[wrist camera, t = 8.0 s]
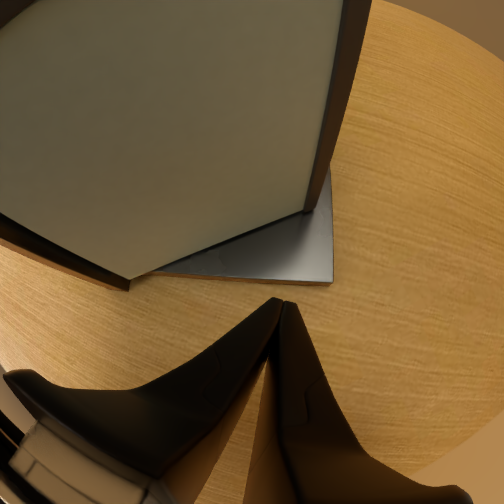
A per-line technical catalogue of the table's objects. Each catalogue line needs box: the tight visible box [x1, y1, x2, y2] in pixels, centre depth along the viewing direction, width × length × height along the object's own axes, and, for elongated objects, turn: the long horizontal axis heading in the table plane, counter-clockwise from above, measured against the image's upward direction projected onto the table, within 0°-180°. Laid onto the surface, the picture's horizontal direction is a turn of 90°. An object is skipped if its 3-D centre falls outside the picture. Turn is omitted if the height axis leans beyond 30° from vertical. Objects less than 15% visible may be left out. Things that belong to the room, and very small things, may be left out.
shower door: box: [0, 0, 372, 280], centre depth 9 cm, size 1×12×16 cm, turn 112°
